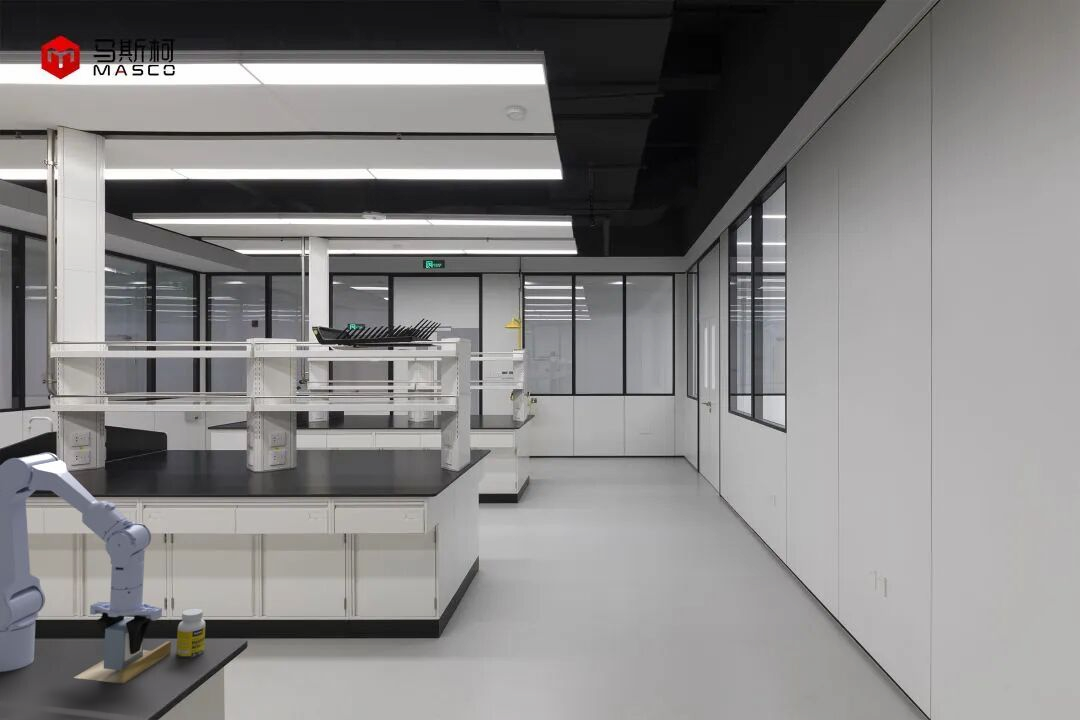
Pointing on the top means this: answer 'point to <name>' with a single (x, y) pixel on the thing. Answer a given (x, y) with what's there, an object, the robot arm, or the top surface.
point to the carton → (119, 647)
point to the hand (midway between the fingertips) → (124, 650)
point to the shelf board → (128, 672)
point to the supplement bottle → (191, 634)
